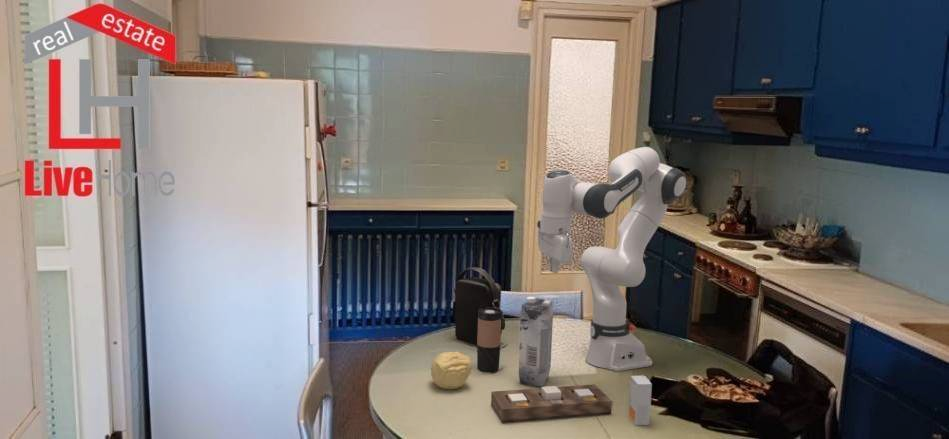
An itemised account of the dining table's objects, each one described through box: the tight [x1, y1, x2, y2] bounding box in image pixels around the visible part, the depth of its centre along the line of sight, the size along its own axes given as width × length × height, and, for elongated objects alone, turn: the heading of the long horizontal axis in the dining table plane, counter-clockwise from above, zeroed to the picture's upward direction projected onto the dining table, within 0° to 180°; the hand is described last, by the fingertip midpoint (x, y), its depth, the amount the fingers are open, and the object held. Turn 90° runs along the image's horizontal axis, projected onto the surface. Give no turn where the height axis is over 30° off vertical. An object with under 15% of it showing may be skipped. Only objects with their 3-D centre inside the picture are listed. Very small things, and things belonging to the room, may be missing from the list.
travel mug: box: [476, 307, 502, 374], centre depth 222 cm, size 8×8×20 cm
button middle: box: [540, 385, 561, 401], centre depth 194 cm, size 4×4×3 cm
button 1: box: [508, 393, 527, 404], centre depth 192 cm, size 4×4×3 cm
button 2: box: [574, 389, 594, 399], centre depth 196 cm, size 4×4×3 cm
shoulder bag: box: [444, 266, 507, 349], centre depth 248 cm, size 23×9×28 cm, turn 51°
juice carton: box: [518, 296, 554, 388], centre depth 213 cm, size 9×10×27 cm
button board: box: [490, 383, 613, 424], centre depth 194 cm, size 32×12×4 cm, turn 103°
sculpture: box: [430, 350, 472, 390], centre depth 209 cm, size 12×12×11 cm
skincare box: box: [628, 375, 653, 426], centre depth 188 cm, size 6×4×12 cm
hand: (553, 272), depth 202 cm, fingers closed
